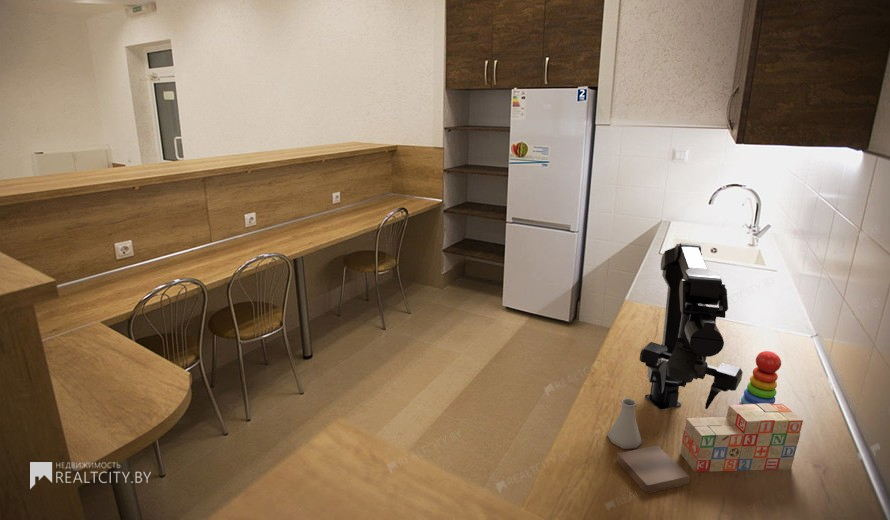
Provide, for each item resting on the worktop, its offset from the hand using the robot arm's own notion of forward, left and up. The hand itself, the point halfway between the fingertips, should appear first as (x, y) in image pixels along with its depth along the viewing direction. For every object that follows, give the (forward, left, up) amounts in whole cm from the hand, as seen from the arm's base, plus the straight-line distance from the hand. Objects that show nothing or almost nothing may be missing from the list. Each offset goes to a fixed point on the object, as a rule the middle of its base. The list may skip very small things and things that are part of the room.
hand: (683, 400), depth 108 cm
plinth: (+4, -9, -13) cm, 17 cm away
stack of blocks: (+6, +11, -14) cm, 18 cm away
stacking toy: (-5, +27, -14) cm, 31 cm away
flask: (-7, -8, -14) cm, 17 cm away
